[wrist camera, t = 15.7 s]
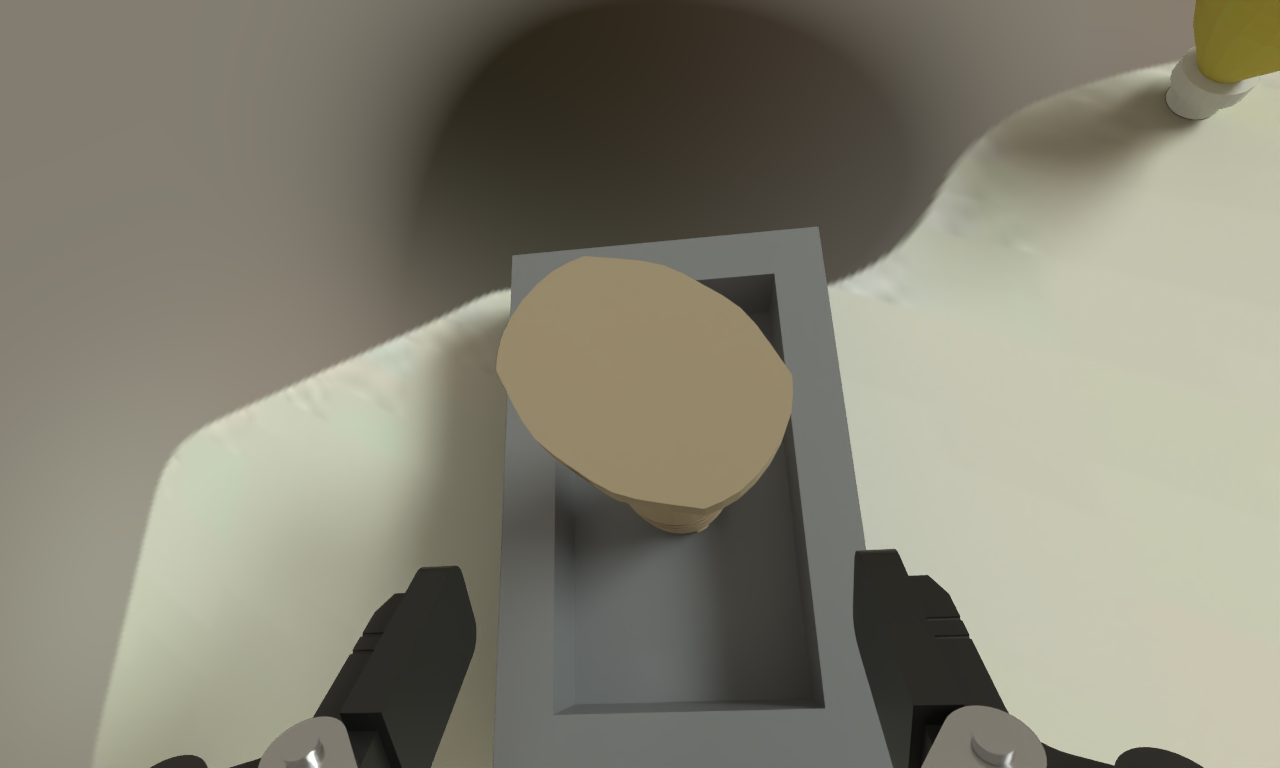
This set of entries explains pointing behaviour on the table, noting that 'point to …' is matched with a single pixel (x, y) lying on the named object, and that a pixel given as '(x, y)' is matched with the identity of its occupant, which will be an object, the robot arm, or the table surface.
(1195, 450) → the table surface
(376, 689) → the robot arm
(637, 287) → the handle
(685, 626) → the gray rectangular tray
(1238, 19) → the light bulb
